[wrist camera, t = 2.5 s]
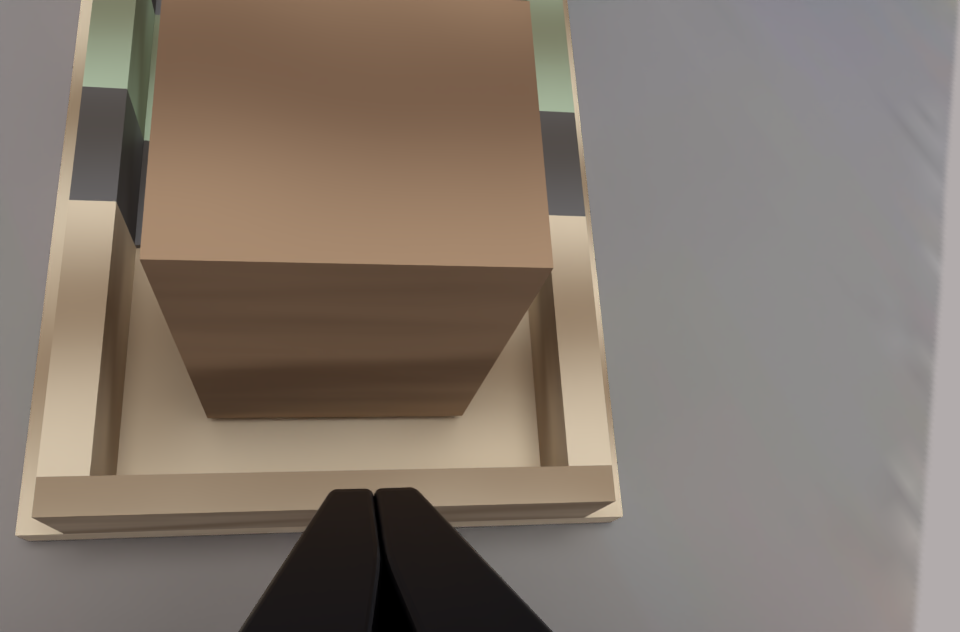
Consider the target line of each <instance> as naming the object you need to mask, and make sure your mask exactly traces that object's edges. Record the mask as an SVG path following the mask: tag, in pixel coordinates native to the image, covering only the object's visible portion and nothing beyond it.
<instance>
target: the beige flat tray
mask: <svg viewBox="0 0 960 632" xmlns="http://www.w3.org/2000/svg"><path fill="white" fill-rule="evenodd" d="M161 1H162V0H81V7H80V15H79V23H78V32H77V40H76V48H75V56H74V64H73V72H72V80H71V88H70V96H69V104H68V112H67V121H66V129H65V137H64V145H63V153H62V161H61V169H60V177H59V185H58V193H57V201H56V210H55V218H54V226H53V234H52V242H51V250H50V258H49V266H48V274H47V282H46V290H45V298H44V307H43V315H42V323H41V331H40V339H39V347H38V355H37V363H36V371H35V379H34V387H33V396H32V404H31V412H30V420H29V428H28V436H27V444H26V452H25V460H24V468H23V476H22V485H21V493H20V501H19V509H18V517H17V525H16V533H15V536H18V537H20V538H22V539H25V540H27V541H45V540H76V539H107V538H138V537H169V536H200V535H230V534H261V533H292V532H304V530H305V529H306V527H307V526H308V524H309V523H310V521H311V520H312V518H313V517H314V515H315V514H316V512H317V511H318V509H319V507H320V506H321V504H322V503H323V501H324V500H325V498H326V497H327V495H328V494H329V493H330V492H331V491H332V490H334V489H363V488H366V489H369V490H371V491H372V493H373V495H374V493H375V491H376V490H378V489H379V488H402V487H412V488H415V489H417V490H418V491H419V492H420V493H421V494H422V495H423V496H424V497H425V498H426V499H427V500H428V501H429V502H430V503H431V504H432V505H433V506H434V507H435V509H436V510H437V511H438V512H439V513H440V514H441V515H442V516H443V517H444V518H445V519H446V520H447V521H448V522H449V523H450V524H451V525H452V526H453V527H477V526H508V525H539V524H570V523H601V522H612V521H614V520H616V519H618V518H621V517H623V513H622V504H621V495H620V486H619V476H618V467H617V458H616V449H615V439H614V430H613V421H612V412H611V402H610V393H609V384H608V375H607V365H606V356H605V347H604V338H603V328H602V319H601V310H600V301H599V291H598V282H597V273H596V263H595V254H594V245H593V236H592V226H591V217H590V208H589V199H588V189H587V180H586V171H585V162H584V152H583V143H582V134H581V125H580V115H579V106H578V97H577V88H576V78H575V69H574V60H573V51H572V41H571V32H570V23H569V14H568V4H567V0H522V1H530V12H531V23H532V34H533V45H534V56H535V67H536V78H537V90H538V101H539V112H540V123H541V134H542V145H543V156H544V167H545V178H546V189H547V201H548V212H549V223H550V234H551V245H552V256H553V267H554V268H553V270H552V271H551V273H550V275H549V276H548V278H547V279H546V281H545V283H544V284H543V286H542V287H541V289H540V291H539V292H538V294H537V296H536V297H535V299H534V300H533V302H532V304H531V305H530V307H529V308H528V310H527V312H526V313H525V315H524V317H523V318H522V320H521V321H520V323H519V325H518V326H517V328H516V329H515V331H514V333H513V334H512V336H511V338H510V339H509V341H508V342H507V344H506V346H505V347H504V349H503V350H502V352H501V354H500V355H499V357H498V359H497V360H496V362H495V363H494V365H493V367H492V368H491V370H490V372H489V373H488V375H487V376H486V378H485V380H484V381H483V383H482V384H481V386H480V388H479V389H478V391H477V393H476V394H475V396H474V397H473V399H472V401H471V402H470V404H469V405H468V407H467V409H466V410H465V412H464V414H463V415H462V416H380V417H277V418H207V416H206V414H205V411H204V409H203V407H202V404H201V402H200V400H199V397H198V395H197V393H196V390H195V388H194V386H193V383H192V381H191V379H190V376H189V374H188V372H187V369H186V367H185V365H184V362H183V360H182V358H181V355H180V353H179V351H178V348H177V346H176V344H175V341H174V339H173V337H172V334H171V332H170V330H169V327H168V325H167V323H166V320H165V318H164V316H163V313H162V311H161V309H160V306H159V304H158V301H157V299H156V297H155V294H154V292H153V290H152V287H151V285H150V283H149V280H148V278H147V276H146V273H145V271H144V269H143V266H142V264H141V262H140V247H141V235H142V223H143V212H144V200H145V188H146V177H147V165H148V153H149V141H150V130H151V118H152V106H153V95H154V83H155V71H156V59H157V48H158V36H159V24H160V13H161Z"/></svg>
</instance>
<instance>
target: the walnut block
mask: <svg viewBox="0 0 960 632" xmlns="http://www.w3.org/2000/svg"><path fill="white" fill-rule="evenodd" d="M140 262H141V264H142V266H143V269H144V271H145V273H146V276H147V278H148V280H149V283H150V285H151V287H152V290H153V292H154V294H155V297H156V299H157V301H158V304H159V306H160V309H161V311H162V313H163V316H164V318H165V320H166V323H167V325H168V327H169V330H170V332H171V334H172V337H173V339H174V341H175V344H176V346H177V348H178V351H179V353H180V355H181V358H182V360H183V362H184V365H185V367H186V369H187V372H188V374H189V376H190V379H191V381H192V383H193V386H194V388H195V390H196V393H197V395H198V397H199V400H200V402H201V404H202V407H203V409H204V411H205V414H206V416H207V418H277V417H380V416H462V415H463V414H464V412H465V410H466V409H467V407H468V405H469V404H470V402H471V401H472V399H473V397H474V396H475V394H476V393H477V391H478V389H479V388H480V386H481V384H482V383H483V381H484V380H485V378H486V376H487V375H488V373H489V372H490V370H491V368H492V367H493V365H494V363H495V362H496V360H497V359H498V357H499V355H500V354H501V352H502V350H503V349H504V347H505V346H506V344H507V342H508V341H509V339H510V338H511V336H512V334H513V333H514V331H515V329H516V328H517V326H518V325H519V323H520V321H521V320H522V318H523V317H524V315H525V313H526V312H527V310H528V308H529V307H530V305H531V304H532V302H533V300H534V299H535V297H536V296H537V294H538V292H539V291H540V289H541V287H542V286H543V284H544V283H545V281H546V279H547V278H548V276H549V275H550V273H551V271H552V270H553V268H554V267H553V256H552V245H551V234H550V223H549V212H548V201H547V189H546V178H545V167H544V156H543V145H542V134H541V123H540V112H539V101H538V90H537V78H536V67H535V56H534V45H533V34H532V23H531V12H530V1H522V0H162V1H161V13H160V24H159V36H158V48H157V59H156V71H155V83H154V95H153V106H152V118H151V130H150V141H149V153H148V165H147V177H146V188H145V200H144V212H143V223H142V235H141V247H140Z"/></svg>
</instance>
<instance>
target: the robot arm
mask: <svg viewBox="0 0 960 632" xmlns="http://www.w3.org/2000/svg"><path fill="white" fill-rule="evenodd" d="M239 632H553V631H552V630H551V629H550V628H549V627H548V626H547V625H546V624H545V623H544V622H543V621H542V620H541V619H540V618H539V617H538V616H537V614H536V613H535V612H534V611H533V610H532V609H531V608H530V607H529V606H528V605H527V604H526V603H525V602H524V601H523V600H522V599H521V598H520V597H519V596H518V595H517V594H516V592H515V591H514V590H513V589H512V588H511V587H510V586H509V585H508V584H507V583H506V582H505V581H504V580H503V579H502V578H501V577H500V576H499V575H498V574H497V573H496V571H495V570H494V569H493V568H492V567H491V566H490V565H489V564H488V563H487V562H486V561H485V560H484V559H483V558H482V557H481V556H480V555H479V554H478V553H477V552H476V550H475V549H474V548H473V547H472V546H471V545H470V544H469V543H468V542H467V541H466V540H465V539H464V538H463V537H462V536H461V535H460V534H459V533H458V532H457V531H456V530H455V528H454V527H453V526H452V525H451V524H450V523H449V522H448V521H447V520H446V519H445V518H444V517H443V516H442V515H441V514H440V513H439V512H438V511H437V510H436V509H435V507H434V506H433V505H432V504H431V503H430V502H429V501H428V500H427V499H426V498H425V497H424V496H423V495H422V494H421V493H420V492H419V491H418V490H417V489H415V488H412V487H402V488H379V489H378V490H376V491H375V493H374V495H373V493H372V491H371V490H369V489H366V488H363V489H334V490H332V491H331V492H330V493H329V494H328V495H327V497H326V498H325V500H324V501H323V503H322V504H321V506H320V507H319V509H318V511H317V512H316V514H315V515H314V517H313V518H312V520H311V521H310V523H309V524H308V526H307V527H306V529H305V530H304V532H303V534H302V535H301V537H300V538H299V540H298V541H297V543H296V544H295V546H294V547H293V549H292V550H291V552H290V554H289V555H288V557H287V558H286V560H285V561H284V563H283V564H282V566H281V567H280V569H279V570H278V572H277V573H276V575H275V577H274V578H273V580H272V581H271V583H270V584H269V586H268V587H267V589H266V590H265V592H264V593H263V595H262V597H261V598H260V600H259V601H258V603H257V604H256V606H255V607H254V609H253V610H252V612H251V613H250V615H249V617H248V618H247V620H246V621H245V623H244V624H243V626H242V627H241V629H240V630H239Z"/></svg>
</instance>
